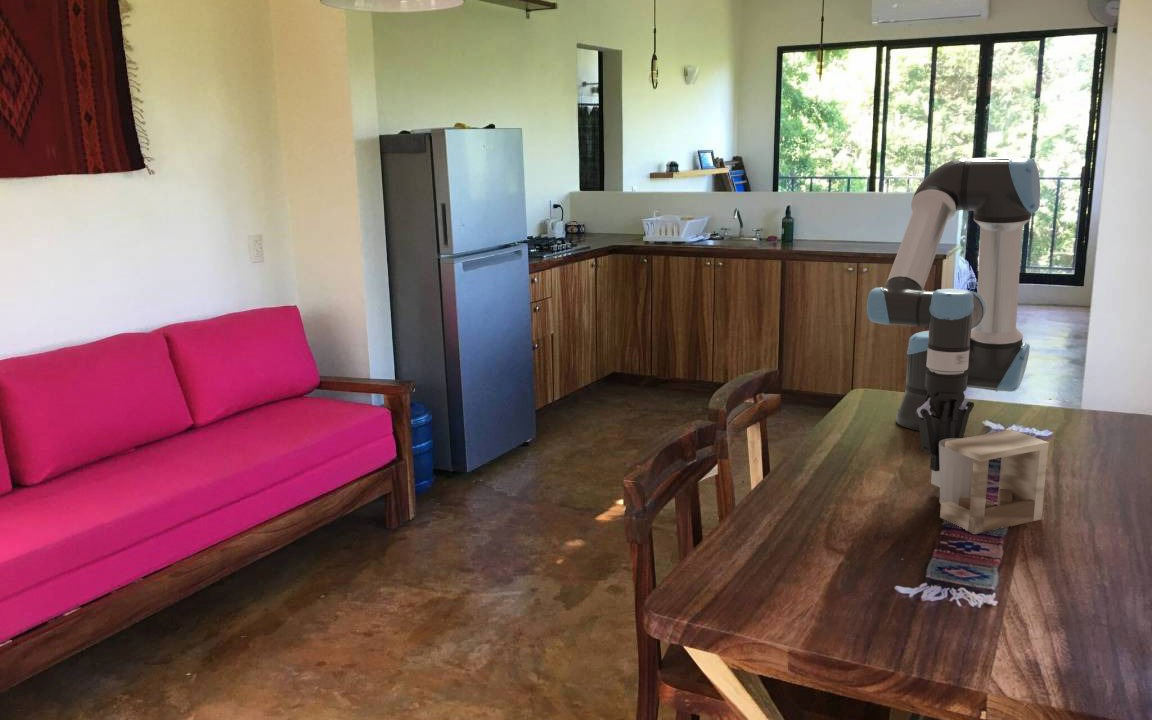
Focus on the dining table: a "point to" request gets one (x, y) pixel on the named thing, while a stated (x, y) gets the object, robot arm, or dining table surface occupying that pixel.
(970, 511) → the shelf
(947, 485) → the cup
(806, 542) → the dining table surface
